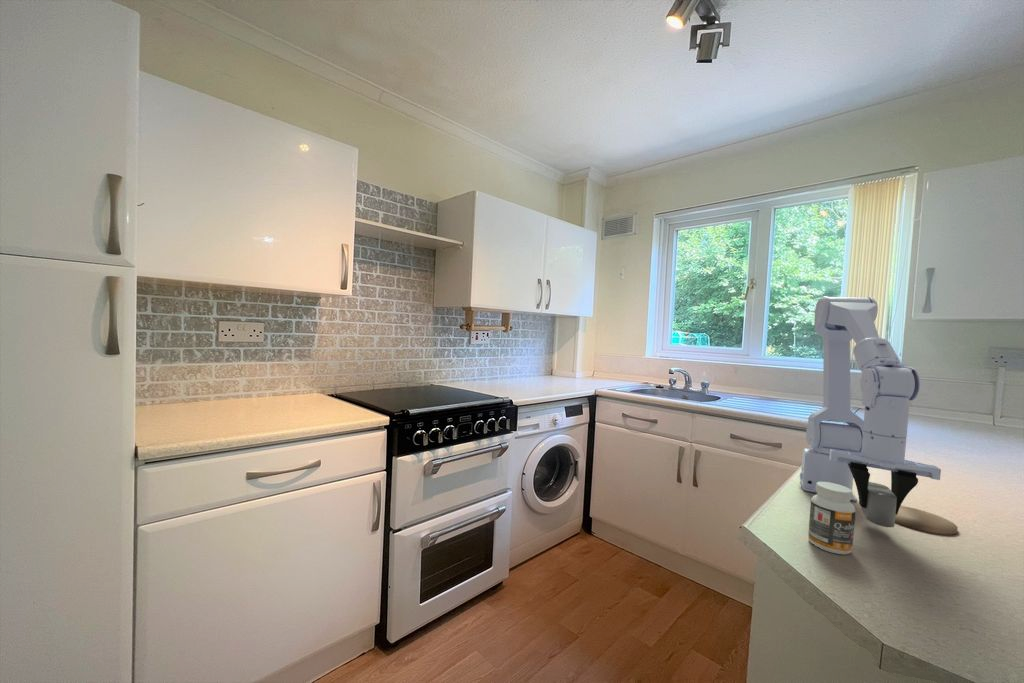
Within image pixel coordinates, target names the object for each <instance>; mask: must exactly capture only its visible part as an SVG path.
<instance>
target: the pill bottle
mask: <svg viewBox="0 0 1024 683" xmlns="http://www.w3.org/2000/svg"><path fill="white" fill-rule="evenodd" d="M816 491H817V493H816V494H815V495H812V497H811V499H810V509H809V510H810V511H809V520H808V521H809V524H808V533H807V534H808V540H809V542H810V543H811V544H812V545H813V544H814V545H813V546H815V547H817V548H818V547H819V548H818V549H821V550H823V551H825V552H829V553H832V554H837V555H849V554H851V553H852V552H853V545H854V533H855V521H856V508H855V506H854V504H853V503H852V502H851V501H852V500H851V499H852V491H853V489H852V490H851V489H849V488H847V487H845V486H842V485H839V484H835V483H830V482H817V483H816Z"/></svg>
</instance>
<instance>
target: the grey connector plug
mask: <svg viewBox="0 0 1024 683" xmlns="http://www.w3.org/2000/svg"><path fill="white" fill-rule="evenodd" d="M896 502H897V497H896V496H895V494H894V493H893V492H892V491H891V488H890V487H888V486H887V485H885V484H881V483H879V482H872V481H869V483H868V489H867V506H866V508H863V507H861V506H860V507H861V508H860V509H861V511H862V513H863V514H864V516H865V518H866V520H867V521H868V522H870V523H871V524H874V525H877V526H880V527H884V528H895V524H896V523H895V514H896Z"/></svg>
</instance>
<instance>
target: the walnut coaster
mask: <svg viewBox="0 0 1024 683" xmlns="http://www.w3.org/2000/svg"><path fill="white" fill-rule="evenodd" d="M895 524H897V525H900V526H902V527H906V528H910V529H913V530H917V531H921V532H925V533H929V534H933V535H942V536H943V535H944V536H954V535H956V534H957V533H958V526H957V525H956V524H955V523H954V522H953V521H950V520H948V519H946V518H944V517H942V516H940V515H936V514H934V513H931V512H929V511H926V510H923V509H922V510H921V509H918V508H914V507H910V506H906V505H901V506H900V508H899V511H898V514H897V515H896V514H895Z"/></svg>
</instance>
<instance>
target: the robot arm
mask: <svg viewBox="0 0 1024 683" xmlns="http://www.w3.org/2000/svg"><path fill="white" fill-rule="evenodd" d="M878 312H879V306H878V302H877V300H875V298H874V297H872V296H866V297H856V296H855V297H851V296H850V297H848V296H847V297H843V296H841V297H840V296H827V295H824V296H821V297H820V298H819V299H818V300H817V302H816V305H815V308H814V330H815V332H814V333H815V334H816V335H818V336H819V337H822V345H823V366H822V367H823V372H822V373H823V378H822V379H823V384H822V385H823V389H822V390H823V395H822V397H823V401H822V402H823V405H822V406H823V407H822V408H820V409H818V410H816V411H814V412H812V413H810V415H809V417H808V420H807V426H806V429H805V435H806V436H805V437H806V443H807V445H808V446H809V447H810V448H803V450H802V456H801V467H800V468H801V470H800V472H799V481H800V484H801V488H802V490H803V491H806V492H811V493H816V494H817V491H816V483H817V482H830V483H835V484H839V485H842V486H845V487H847V488H849V489H851V490H852V499H851V500H850V501H854V502H857V501H858V504H859V506H860V507H863V508H866V506H867V489H868V483H869V482H870V478H871V473H870V472H869V468H873V469H878V470H884V471H890V475H891V477H890V478H891V480H890V481H891V482H890V484H891V486H890V490H891V491H892V492H893V493H894V494H895V496H896V497H897V502H896V515H897V514H898V511H899V508H900V506H902V504H903V502H904V500H905V499H906V497H907V496H908V494H909V493H911V491H912V489H914V488H915V487H917V485H918V483H919V478H918V477H925V478H930V479H932V480H936V481H941V474H942V472H941V471H942V469H941V468H940V467H939V466H938V465H934V464H933V465H932V464H929V463H928V464H927V463H922V462H917V461H913V460H908V459H905V458H906V447H907V439H908V438H907V437H908V426H909V425H908V424H909V414H910V413H909V412H910V406H911V405H910V402H911V401H915V399H916V398H917V397H918V396H919V392H920V389H921V378H920V376H919V374H918V371H917V369H916V368H914V367H912V366H908V364H905V363H904V364H903V363H902V362H901V360H900V358H899V357H898V355H897V352H896V351H895V350H894V348H893V346H892V344H891V342H890V341H889V340H888V339H885V338H882V337H880V335H879V333H878V331H877V327H876V324H875V321H876V319H877V317H878ZM852 340H853V341H854V343H855V345H854V347H853V349H852V354H853V356H854V358H855V361H856V362H857V364H858V366H859V369H860V371H861V373H862V374H861V377H860V383H859V384H860V385H859V386H860V390H861V402H862V406H864V416H863V419H862V418H861V417H860V416H859V415H857V414H856V413H855V412H853V411H852V409H851V341H852ZM823 421H824V422H823ZM834 422H835V423H834ZM842 423H843V424H842ZM917 476H918V477H917ZM854 484H855V487H856V490H857V496H858V498H857V497H856V495H855V494H854V492H853V485H854Z"/></svg>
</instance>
